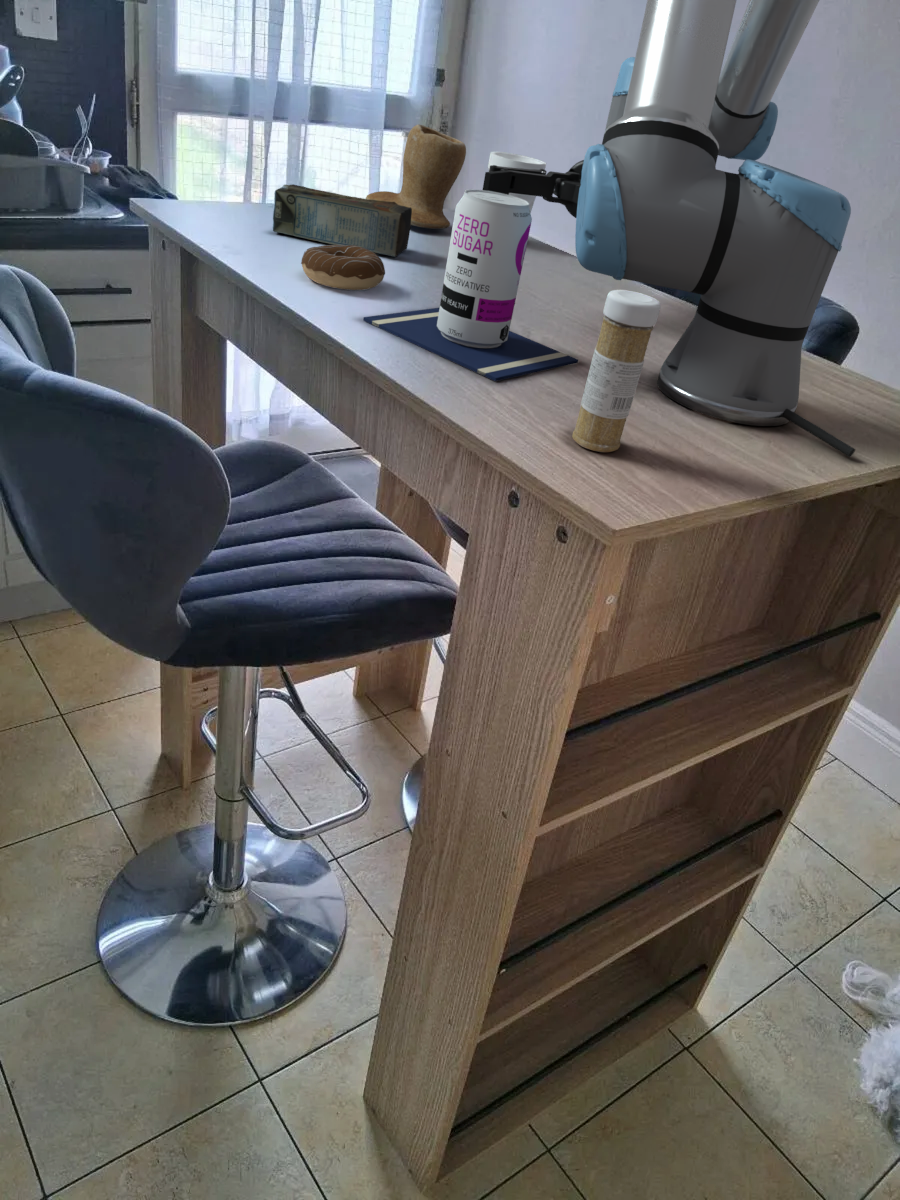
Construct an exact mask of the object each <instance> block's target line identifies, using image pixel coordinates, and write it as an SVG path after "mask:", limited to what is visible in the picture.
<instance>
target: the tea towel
mask: <svg viewBox="0 0 900 1200" xmlns="http://www.w3.org/2000/svg"><path fill="white" fill-rule="evenodd" d="M439 308H440V307H433V308H426V309H418V310H409V311H401V312H395V313H386V314H377V315H369V316H364V317H363V318H362V319H363V322H365V323H368V324H370V325H372V326H374V327H376V328H379V329H380V330H383V331H385V332H387V333H389V334H392V335H393V336H396V337H398V338H400V339H402V340H404V341H407V342H409V343H411V344H412V345H413V344H414V345H415V346H418V347H420V348H422V349H424V350H425V351H428V352H431V353H433V354H435V355H437V356H439V357H442V358H443V359H445V360H448V361H450V362H452V363H455V364H457V365H459V366H461V367H464V369H468V370H470V371H472V372H473V373H476V374H478V375H481V376H483V377H485V378H487V379H489V380H492V381H494V382H499V381H504V380H508V379H512V378H516V377H517V378H518V377H521V376H525V375H530V374H535V373H539V372H544V371H549V370H553V369H556V368H562V367H565V366H571V365H575V364H578V363H579V359H578V358H576V357H573V356H571V355H569V354H566V353H564V352H561V351H559V350H556V349H554V348H552V347H550V346H548V345H544V344H542V343H539V342H538V341H535V340H533V339H530V338H529V337H526V336H523V335H521V334H518V333H516V332H513V331H512V330H509V334H508V339H507V341H505V342H503V343H501V345H500V346H498V347H495V348H476V347H469V346H465V345H461V344H458V343H455V342H453V341H450V340H448V339H447V338H445V337H443V335H442V334H441V331H440V330H439V329H438V327H437V321H438V315H439Z"/></svg>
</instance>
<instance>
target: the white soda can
mask: <svg viewBox="0 0 900 1200" xmlns="http://www.w3.org/2000/svg"><path fill="white" fill-rule="evenodd" d="M531 213H532V212H531ZM531 213H530V209H529V202H527V201H526V200H523V199H520V198H518V197H514V196H511V195H507V194H502V193H498V192H492V191H485V190H482V189H473V188H471V189H465V190H464V192H463V195H462V197H461V198H460V200H459V201H458V202H457V204H456V205H455V210H454V214H453V215H454V216H453V217H454V218H453V221H452V222H453V223H452V229H451V234H450V242H449V246H448V254H447V260H446V266H445V271H444V278H443V284H442V291H441V297H440V303H439V307H438V308H439V315H438V321H437V327H438V329H439V330H440V331H441V334H442V335H443V337H445V338H447V339H448V340H450V341H453V342H455V343H458V344H461V345H465V346H469V347H476V348H495V347H498V346H500V345H501V343H503V342H505V341H507V339H508V334H509V331H510V330H511V329H510V328H511V324H512V320H513V315H514V309H515V304H516V299H517V295H518V290H519V285H520V280H521V275H522V270H523V265H524V261H525V255H526V251H527V246H528V240H529V236H530V231H531V227H532V221H533V217H532V214H531Z"/></svg>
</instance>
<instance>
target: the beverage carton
mask: <svg viewBox="0 0 900 1200" xmlns="http://www.w3.org/2000/svg"><path fill="white" fill-rule="evenodd" d="M273 195H274V197H273V200H274V201H273V203H274V204H273V211H272V231H273V232H274V233H279V234H284V235H288V236H294V237H297V238H302V239H306V240H310V241H316V242H320V243H324V244H328V245H354V246H358V247H362V248H365V249H368V250H370V251H372V252H374V253H375V254H377V255H383V256H387V257H393V258H396V257H397V256H399V255H400V254H402V253H403V252H405V251H406V250H407V249H408V244H409V239H410V233H411V226H412V225H411V215H412V209H411V207H410V208H409V207H405V206H401V205H398V204H397V203H395V202H390V201H380V200H373V199H366V198H363V197H357V196H351V195H345V194H340V193H336V192H331V191H325V190H321V189H315V188H311V187H307V186H305V185H304V186H302V185H297V184H292V183H291V184H282V187H280V188H279V187H278V188H276V189H275V190H274V194H273Z"/></svg>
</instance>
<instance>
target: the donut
mask: <svg viewBox="0 0 900 1200" xmlns="http://www.w3.org/2000/svg"><path fill="white" fill-rule="evenodd" d="M300 264H301V267H302V270H303V272H304V274H305V275H306V276H307V278H309V279H310V280H312V281H313V282H315V283H317V284H319V285H321V286H324V287H325V286H326V287H329V288H334V289H339V290H344V291H345V290H346V291H364V290H371V289H373V288H376V287H377V286H379V285H380V284H381V282H382V281H383V280H384V277H385V275H386V269H385V268H386V267H385V264H384V262H383V261H382V259H381V257H379V255H378V254H377V253H374V252H372V251H370V250H368V249H365V248H362V247H358V246H354V245H334V244H325V245H324V244H323V245H319V246H310V247H309V248H307V249H306V250H305V251H304V252H303V255H302V257H301V261H300Z"/></svg>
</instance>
